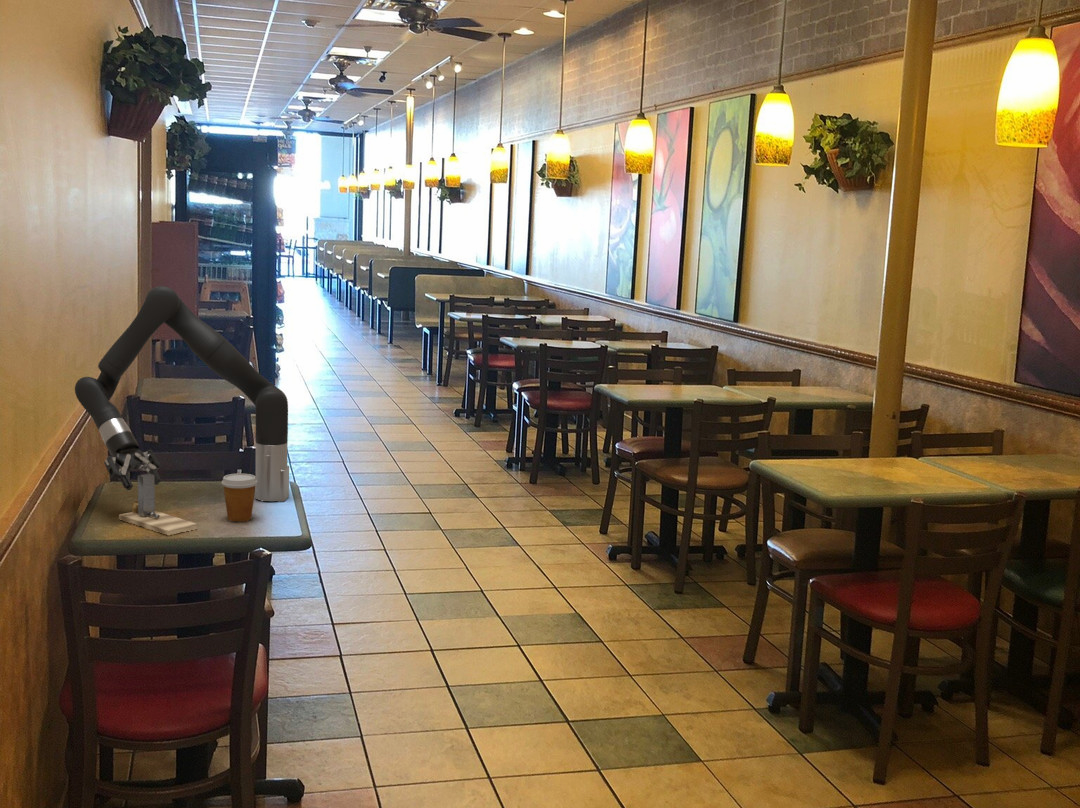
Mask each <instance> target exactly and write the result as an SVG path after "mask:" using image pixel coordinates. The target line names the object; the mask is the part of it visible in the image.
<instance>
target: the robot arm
mask: <svg viewBox="0 0 1080 808" xmlns="http://www.w3.org/2000/svg"><path fill="white" fill-rule="evenodd" d="M162 324H165V325H166V326H167V327H169V328H170V329H172V330H173V331H174V332H175V333H177V335H178V336H179V337H180V338H181V339H182V340H183V341H184V343H186V344H187V346H188V347H189V349H190V350H191V351H192V352H193V353H194V354H195V356H196V357H197V358H198V359H199V360H200V361H202V363H203V364H205V365H206V366H207V367H208V368H209V369H210V370H211V371H213V372H214V373H215V374H216V375H218V376H219V377H221V378H222V379H224V380H225V381H227V382H228V383H230V384H231V385H233V386H235V388H237V389H238V390H240V391H241V392H242V393H243V394H244V395H245V397H247V398H248V400H250V402H251V403H253V405H254V406H255V477H256V480H257V483H256V485H255V493H254V494H255V500H256V499H258V500H263V501H278V502H285V501H286V500H287V499H288V498H289V497H290V466H289V465H288V440H289V402H288V398H287V395H286V394H285V392H284V391H283V390H282V389H280V388H279V387H277V386H276V385H274V384H273V383H271V382H270V381H269V380H268V379H266V378H265V377H264V376H263V375H262V374H261V373H259V372H258V371H257V370H256V369H255V367H253V366H252V364H251V362H249V361H248V360H247V359H246V358H245V357H244V356H243V354H242V353H241V352H239V350H237V348H236V347H234V345H233V344H232V343H230V342H229V340H227V339H226V338H225V337H224V336H223V335H222V334H221V333H219V332H218V331H216V330H215V329H214V328H213V327H211V326H210V324H209V325H208V324H207V323H206V322H204V321H203V320H202V319H201V318H199V317H198V316H197V315H196V314H195V313H194V312H193V311H192V310H191V309H190V308H189V306H187V305H186V304H185V302H184V301H183V300H182V299H181V298H180V297H179V295H178V294H177V292H176V291H175V290H174V289H172V288H170V287H168V286H164V285H159V286H156V287H153V288H152V289H150V290H149V292H148V293H147V294H146V296H145V299H144V301H143V304H142V306H141V308H140V309H139V311H138V313H137V314H136V316H135V318H134V319H133V320H132V321H131V323H130V324H129V326H128V327H127V328H126V329H125V331H124V332H122V334H121V335H120V336H119V337H118V338H117V340H115V342H114V343H113V344H112V346H111V347H109V349H108V350H107V352H105V354H104V355H103V357H102V358H101V359H100V361H99V363H98V365H97V366H98V367H97V368H98V369H99V370H100V373H99V375H98V376H97V378H94V377H91V376H84V377H81V378H79V379H77V381H76V383H75V386H74V393H75V396H76V399H77V400H78V402H79V404H80V405H81V406H82V407H83V409H84V410H85V411H86V412H87V413H88V415H89V416H90V417H91V419H92V420H93V423H94V424H95V426H96V428H97V430H98V431H99V434H100V437H101V439H102V441H103V442H104V443H103V444H104V445H105V447H106V448H107V451H108V452H109V454H110V455H108V456H107V457H106V458H105V460H104V461H103V463H104V466H105V467H106V470H107V473H108V474H109V476H110V478H111V479H112V480H115V479H117V480H119V481H120V482H121V484H122V486H123V488H124V489H126V490H127V491H131V490H132V489H133V487H134V486H133V483H132V481H131V479H130V478H129V476H128V474H127V471H132V470H140V471H142V472H144V471H145V472H146V473H147V474H152V475H154V484H155V486H158V485H159V484H160V482H161V480H162V479H161V476H160V474H159V472H158V470H159V469H160V468H161V466H162V464H161V462H160V461H159V459H158V457H157V456H156V454H155V453H154V451H153V449H150V448H149V449H148V450H147V451H145V452H143V451H142V450H140V447H139V446H140V445H139V443H138V441H137V439H136V438H135V436H134V434H133V432H132V430H131V429H130V427H129V425H128V424H127V422H126V421H125V420H124V418H123V416H122V414H121V413H120V411H119V409H118V408H117V407H116V405H115V404H114V403H112V402H111V401H110V400H111V399H112V398H113V395H114V394H115V392H116V390H117V387H118V385H119V383H120V381H121V378H122V376H123V375H124V374H125V372H126V371H127V370H128V369H129V368H130V366H131V365H132V364H133V362H134V361H135V360H136V358H137V356H138V355H139V354H140V352H141V351H142V349H143V348H144V346H145V344H146V343H147V342H148V340H149V339H150V338H151V337H152V335H153V334H154V333H155V332H156V331H157V330H158V329H159V328H160V327H161V326H162ZM143 464H144V465H143ZM117 466H119V469H118V467H117ZM258 500H257V501H258ZM263 501H262V502H263Z"/></svg>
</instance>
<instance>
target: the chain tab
mask: <svg viewBox="0 0 1080 808" xmlns="http://www.w3.org/2000/svg"><path fill="white" fill-rule="evenodd" d="M155 486H156V485H155V484H154V475H152V474H149V473H144V474H140V475H137V503H138V510H137V511H138V515H140V516H143V517H145V516H152V517H155V518H159V517H160V515H158V514H155V511H156V504H155V503H156V500H155V499H156V494H155V489H156V487H155Z"/></svg>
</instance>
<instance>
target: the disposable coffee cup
mask: <svg viewBox="0 0 1080 808" xmlns="http://www.w3.org/2000/svg"><path fill="white" fill-rule="evenodd" d="M256 483H257V480H256V475H254V474H249V473H231V474H226V475H224V476H223V479H222V481H221V485H222V487H223V493H224V500H225V501H224V502H225V508H226V509H225V510H226V515H227V520H228V521H229V520H230V521H229V522H233V521H238V522H237V523H242V522H241V521H244V522H248V520H249V521H251V520H252V515H253V507H254V500H255V494H256V493H255V491H256ZM250 519H251V520H250ZM239 521H240V522H239Z"/></svg>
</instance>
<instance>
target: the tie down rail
mask: <svg viewBox="0 0 1080 808" xmlns="http://www.w3.org/2000/svg"><path fill="white" fill-rule="evenodd" d="M131 504H132V506H131V507H132V511H130V512H126V513H120V514H118V520H119V519H120V520H123V521H127V522H130V523H133V524H136V525H139V526H142V527H145V528H148V529H151V530H153V531H152V532H154V531H156V532H155V533H157V532H160V533H163V534H167V535H171V534H176V533H180V532H185V533H187V532H186V531H189V532H192V531H191V530H193V531H196V530H195V529H197V530H198V528H199V527H198V523H195V522H193V521H191V520H190V521H189V520H185V519H183V518H179V517H177V516H172V515H170V514H167V513H163V512H162V511H161V512H160V511H157V510H155V514H158V515H160V517H159V518H155V517H152V516H145V517H143V516H140V515H138V511H137V510H138V502H132V503H131ZM120 520H119V521H120ZM123 521H122V522H123ZM130 523H129V524H130ZM133 524H132V525H133ZM136 525H135V526H136ZM139 526H138V527H139ZM142 527H141V528H142ZM145 528H144V529H145ZM148 529H147V530H148ZM151 530H150V531H151ZM160 533H159V534H160ZM163 534H162V535H163Z"/></svg>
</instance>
